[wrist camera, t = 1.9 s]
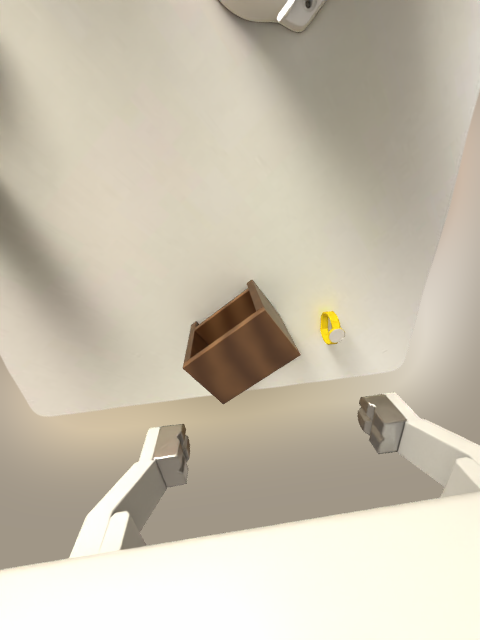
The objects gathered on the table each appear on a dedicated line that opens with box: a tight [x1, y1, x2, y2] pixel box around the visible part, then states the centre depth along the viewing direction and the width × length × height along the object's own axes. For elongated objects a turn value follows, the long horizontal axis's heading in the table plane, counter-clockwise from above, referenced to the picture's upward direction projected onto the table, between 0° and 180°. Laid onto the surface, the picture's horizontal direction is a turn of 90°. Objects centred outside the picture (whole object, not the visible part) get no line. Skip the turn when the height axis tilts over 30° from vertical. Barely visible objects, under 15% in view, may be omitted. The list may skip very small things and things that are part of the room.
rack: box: [183, 280, 301, 404], centre depth 41 cm, size 14×9×13 cm, turn 127°
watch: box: [320, 311, 345, 345], centre depth 45 cm, size 6×3×6 cm, turn 4°
